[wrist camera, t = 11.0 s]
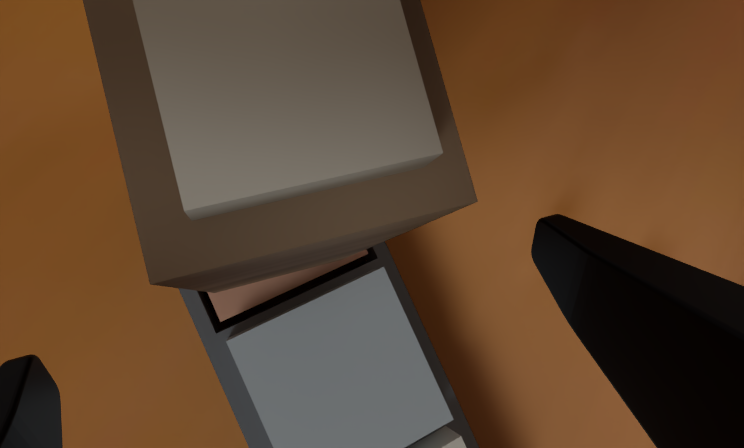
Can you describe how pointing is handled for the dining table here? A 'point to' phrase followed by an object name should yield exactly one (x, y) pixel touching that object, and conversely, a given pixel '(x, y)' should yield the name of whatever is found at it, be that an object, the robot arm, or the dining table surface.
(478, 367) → the dining table surface
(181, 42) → the walnut stylus post
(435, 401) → the key pad
